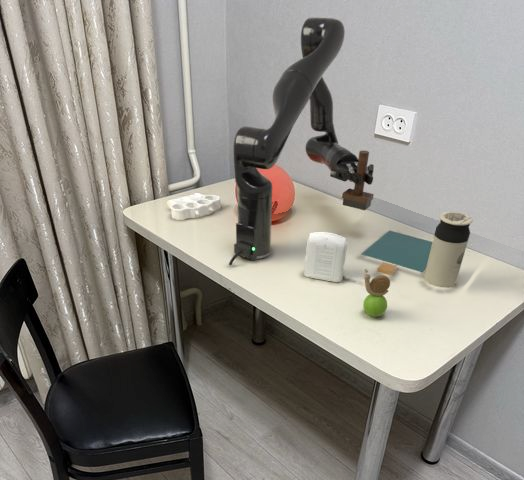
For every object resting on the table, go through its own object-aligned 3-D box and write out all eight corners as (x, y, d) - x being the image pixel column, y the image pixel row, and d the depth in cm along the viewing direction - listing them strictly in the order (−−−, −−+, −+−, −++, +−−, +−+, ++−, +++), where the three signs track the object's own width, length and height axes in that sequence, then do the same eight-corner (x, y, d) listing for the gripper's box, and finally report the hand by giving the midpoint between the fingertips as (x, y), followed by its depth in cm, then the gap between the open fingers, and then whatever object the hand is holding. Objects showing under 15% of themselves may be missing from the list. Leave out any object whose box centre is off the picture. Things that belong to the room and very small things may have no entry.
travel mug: (416, 281, 129) (432, 215, 119) (435, 273, 133) (452, 208, 122) (442, 294, 125) (460, 226, 114) (461, 285, 128) (480, 218, 117)
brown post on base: (365, 211, 140) (374, 156, 130) (341, 205, 143) (347, 151, 133) (371, 205, 143) (380, 152, 133) (347, 199, 146) (354, 147, 136)
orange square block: (390, 279, 130) (392, 271, 129) (376, 275, 132) (377, 267, 131) (395, 273, 133) (397, 265, 132) (381, 269, 135) (382, 261, 133)
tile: (421, 276, 132) (422, 272, 131) (360, 257, 140) (360, 253, 139) (446, 249, 145) (447, 245, 144) (388, 233, 153) (389, 230, 152)
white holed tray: (204, 198, 174) (228, 211, 165) (159, 210, 165) (183, 224, 156) (203, 188, 172) (228, 201, 163) (158, 200, 163) (182, 214, 154)
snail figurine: (355, 308, 119) (362, 263, 111) (381, 307, 119) (390, 263, 112) (360, 321, 114) (368, 275, 107) (387, 320, 115) (397, 274, 108)
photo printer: (343, 276, 131) (349, 232, 124) (341, 284, 128) (346, 239, 120) (306, 270, 133) (309, 227, 126) (302, 277, 130) (305, 233, 123)
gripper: (320, 150, 144) (343, 169, 131) (364, 147, 147) (391, 165, 134) (318, 176, 149) (340, 196, 136) (361, 173, 152) (386, 193, 139)
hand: (365, 181), depth 135 cm, fingers closed on brown post on base, 2 cm apart
